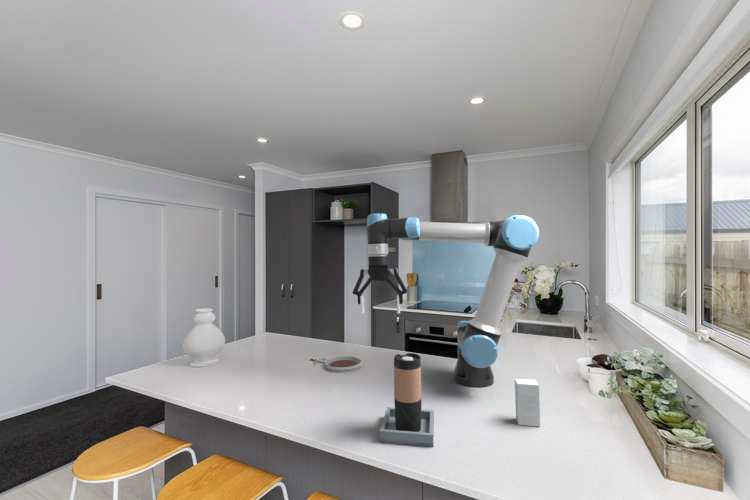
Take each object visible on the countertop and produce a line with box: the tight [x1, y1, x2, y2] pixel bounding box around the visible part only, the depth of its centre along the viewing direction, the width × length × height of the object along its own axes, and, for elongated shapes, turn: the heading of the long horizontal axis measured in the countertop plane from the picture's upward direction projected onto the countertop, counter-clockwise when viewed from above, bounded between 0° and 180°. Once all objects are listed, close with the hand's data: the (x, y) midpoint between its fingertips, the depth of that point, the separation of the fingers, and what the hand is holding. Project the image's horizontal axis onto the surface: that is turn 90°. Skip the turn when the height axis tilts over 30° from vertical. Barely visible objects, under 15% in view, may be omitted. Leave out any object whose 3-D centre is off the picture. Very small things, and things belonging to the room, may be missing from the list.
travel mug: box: [393, 352, 422, 432], centre depth 96 cm, size 8×8×20 cm
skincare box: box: [514, 378, 541, 428], centre depth 99 cm, size 6×4×12 cm
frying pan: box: [308, 355, 363, 374], centre depth 154 cm, size 17×3×28 cm
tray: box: [379, 406, 435, 448], centre depth 96 cm, size 14×14×3 cm
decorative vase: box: [182, 307, 226, 368], centre depth 159 cm, size 18×18×25 cm
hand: (380, 313), depth 125 cm, fingers open, 13 cm apart
